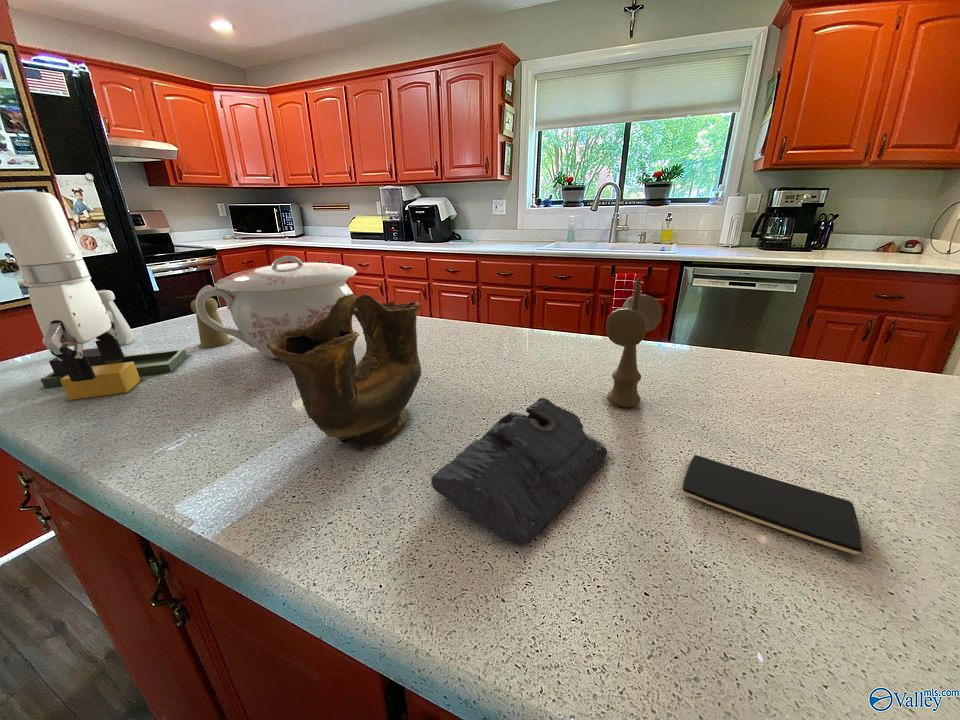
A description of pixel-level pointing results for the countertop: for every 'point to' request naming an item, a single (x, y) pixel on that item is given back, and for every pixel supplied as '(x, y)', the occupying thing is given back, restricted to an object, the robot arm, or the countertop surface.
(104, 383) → the mustard pad
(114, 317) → the salt shaker
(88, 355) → the charcoal pad
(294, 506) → the countertop surface
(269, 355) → the chamber pot
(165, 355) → the tray
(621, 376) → the kendama
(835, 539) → the smartphone
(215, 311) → the olive knobbed cylinder
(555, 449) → the dark slate chunk
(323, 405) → the pottery vessel
